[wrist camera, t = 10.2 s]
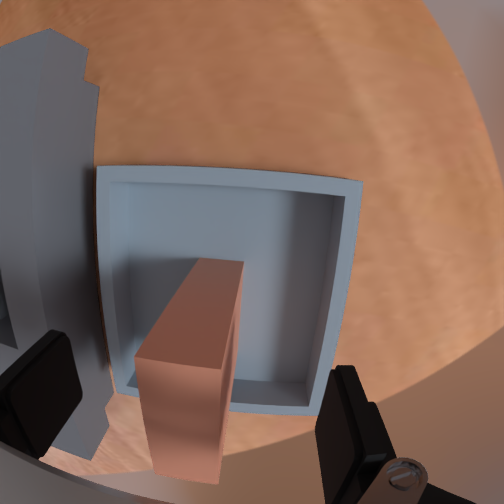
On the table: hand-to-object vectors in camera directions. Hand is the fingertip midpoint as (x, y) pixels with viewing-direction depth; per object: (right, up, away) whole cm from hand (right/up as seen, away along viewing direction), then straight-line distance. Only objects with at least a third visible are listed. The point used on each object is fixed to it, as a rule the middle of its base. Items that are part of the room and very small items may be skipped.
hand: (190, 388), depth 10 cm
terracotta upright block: (0, +1, +9) cm, 9 cm away
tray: (0, +2, +9) cm, 9 cm away
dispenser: (-13, +4, +9) cm, 16 cm away
